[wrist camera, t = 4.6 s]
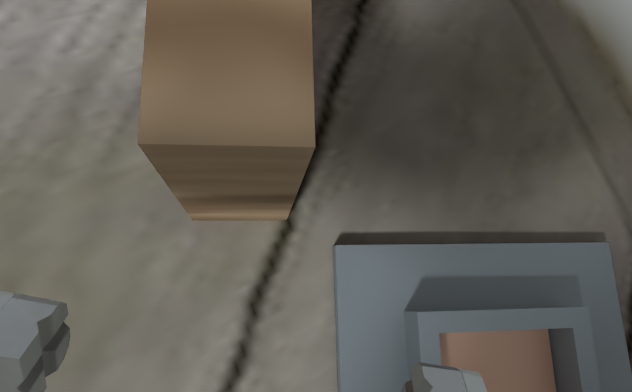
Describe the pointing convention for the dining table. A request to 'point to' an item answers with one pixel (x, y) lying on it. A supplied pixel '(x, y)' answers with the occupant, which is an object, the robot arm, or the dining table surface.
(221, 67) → the block
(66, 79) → the dining table surface
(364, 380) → the housing
